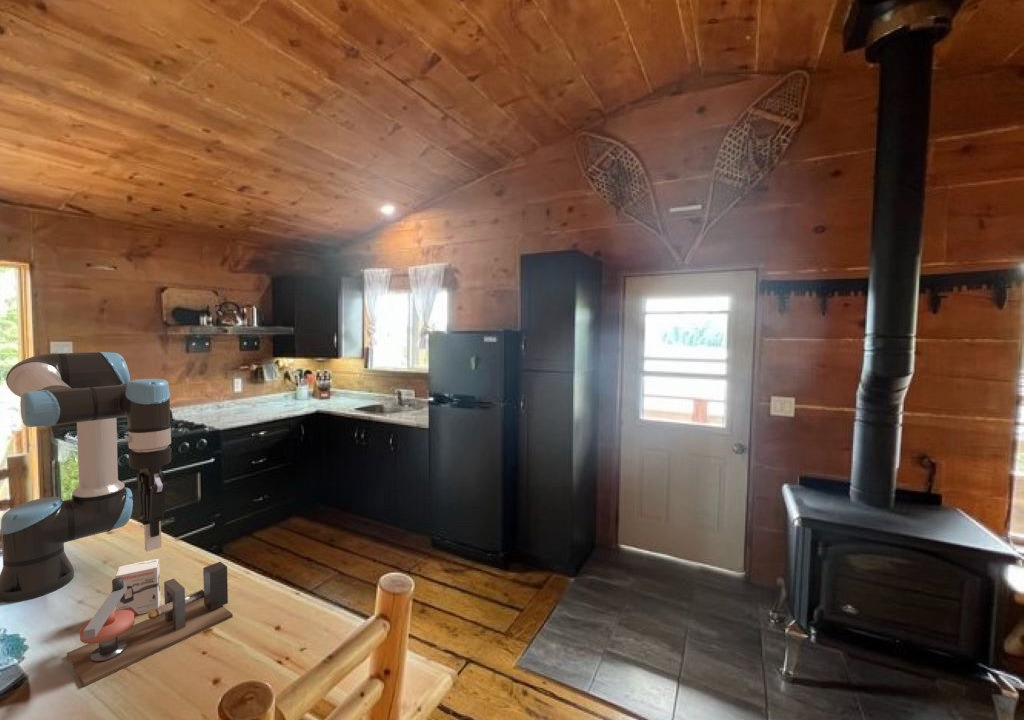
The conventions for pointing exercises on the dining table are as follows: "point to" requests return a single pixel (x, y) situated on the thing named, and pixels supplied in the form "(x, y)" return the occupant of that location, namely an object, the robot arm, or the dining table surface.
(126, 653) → the board
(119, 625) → the handwheel
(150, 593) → the ink box
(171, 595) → the eye
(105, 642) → the axle post
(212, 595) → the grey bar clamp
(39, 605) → the dining table surface
